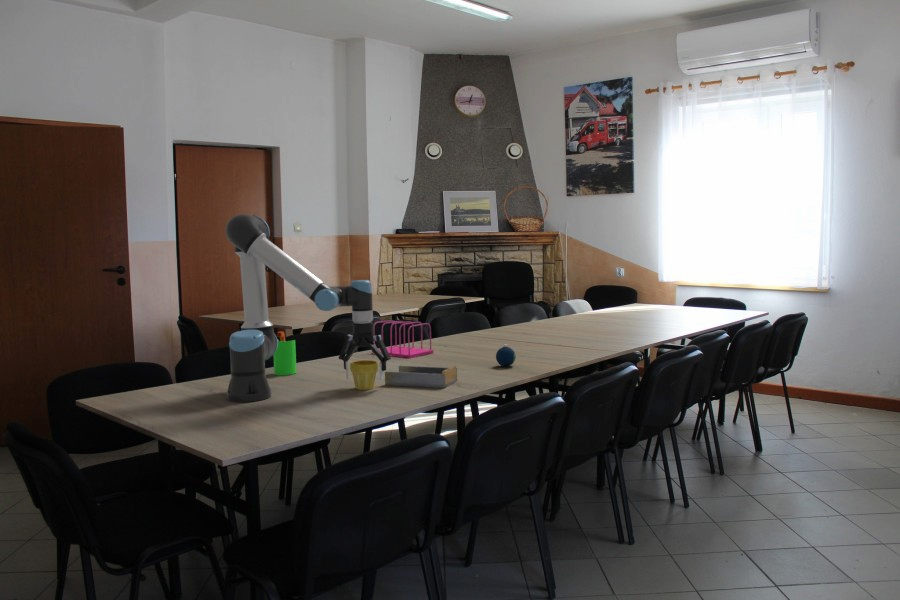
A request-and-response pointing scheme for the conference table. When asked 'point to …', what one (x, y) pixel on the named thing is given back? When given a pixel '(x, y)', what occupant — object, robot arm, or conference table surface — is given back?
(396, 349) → the file sorter
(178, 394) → the conference table surface
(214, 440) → the conference table surface
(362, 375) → the plant pot
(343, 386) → the conference table surface
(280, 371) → the green cylindrical container
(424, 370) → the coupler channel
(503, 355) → the christmas ornament
